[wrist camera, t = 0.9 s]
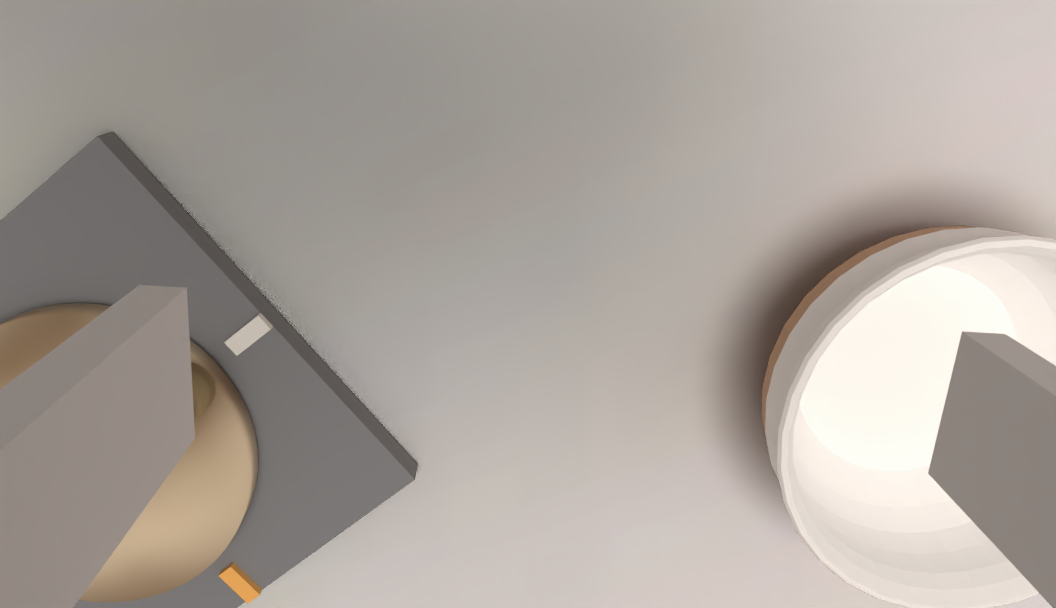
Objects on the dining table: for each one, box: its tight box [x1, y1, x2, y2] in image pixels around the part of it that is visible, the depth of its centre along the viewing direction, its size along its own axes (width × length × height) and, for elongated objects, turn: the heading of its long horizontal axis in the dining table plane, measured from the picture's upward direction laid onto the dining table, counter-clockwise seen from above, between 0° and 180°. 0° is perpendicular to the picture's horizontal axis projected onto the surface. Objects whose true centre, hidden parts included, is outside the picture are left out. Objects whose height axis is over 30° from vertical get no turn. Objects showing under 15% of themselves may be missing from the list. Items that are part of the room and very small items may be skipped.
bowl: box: [762, 226, 1056, 608], centre depth 37 cm, size 16×16×8 cm
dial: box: [0, 303, 258, 602], centre depth 36 cm, size 14×14×7 cm
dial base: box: [0, 132, 418, 608], centre depth 40 cm, size 20×20×2 cm
